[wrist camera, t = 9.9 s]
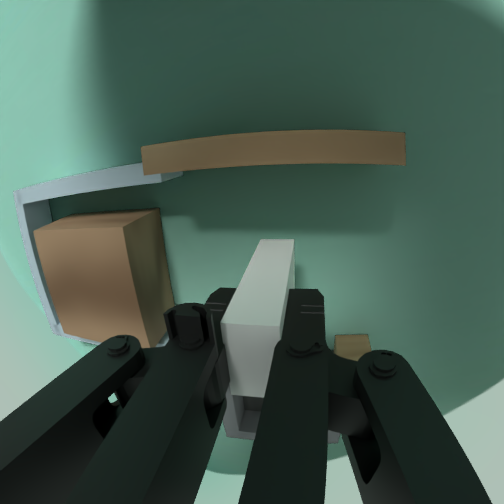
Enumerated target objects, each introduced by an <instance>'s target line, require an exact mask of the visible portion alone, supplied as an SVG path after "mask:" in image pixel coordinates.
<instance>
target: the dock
mask: <svg viewBox="0 0 504 504" xmlns="http://www.w3.org/2000/svg"><path fill="white" fill-rule="evenodd" d="M180 176H183V171H179V172H170V173H161V174H153V175H145V176H144V173H143V164H142V162H141V163H134V164H128V165H123V166H117V167H111V168H106V169H101V170H96V171H91V172H86V173H81V174H77V175H72V176H68V177H64V178H59V179H55V180H51V181H47V182H43V183H39V184H36V185H32V186H29V187H25V188H22V189H19V190H15V191H13V194H14V200H15V206H16V211H17V216H18V221H19V226H20V231H21V235H22V239H23V243H24V247H25V251H26V255H27V259H28V262H29V266H30V269H31V273H32V276H33V279H34V282H35V285H36V288H37V291H38V294H39V297H40V300H41V303H42V306H43V308H44V311H45V314H46V316H47V319H48V322H49V324H50V327H51V329H52V331H53V334H55V335H59V336H63V337H66V338H70V339H74V340H78V341H83V342H87V343H91V344H96V345H100V344H101V343H102V342H97V341H93V340H89V339H85V338H81V337H77V336H73V335H69V334H65V333H64V331H63V329H62V326H61V324H60V321H59V318H58V316H57V313H56V310H55V307H54V304H53V301H52V298H51V295H50V292H49V289H48V286H47V283H46V279H45V276H44V272H43V269H42V265H41V262H40V258H39V254H38V250H37V246H36V242H35V237H34V233H33V231H34V230H36V229H39V228H41V227H43V226H45V225H48V224H50V223H52V217H51V212H50V206H49V201H48V199H50V198H56V197H61V196H67V195H73V194H79V193H85V192H91V191H98V190H104V189H111V188H119V187H126V186H134V185H142V184H151V183H160V182H164V181H167V180H170V179H173V178H177V177H180ZM168 340H169V336H168V332H167V331H166V333H165V334H164V335H163V337H162V338H161V340H160V341H159V343H158V344H157V345H156V347H162V346H165V345H166V343H167V342H168Z"/></svg>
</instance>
